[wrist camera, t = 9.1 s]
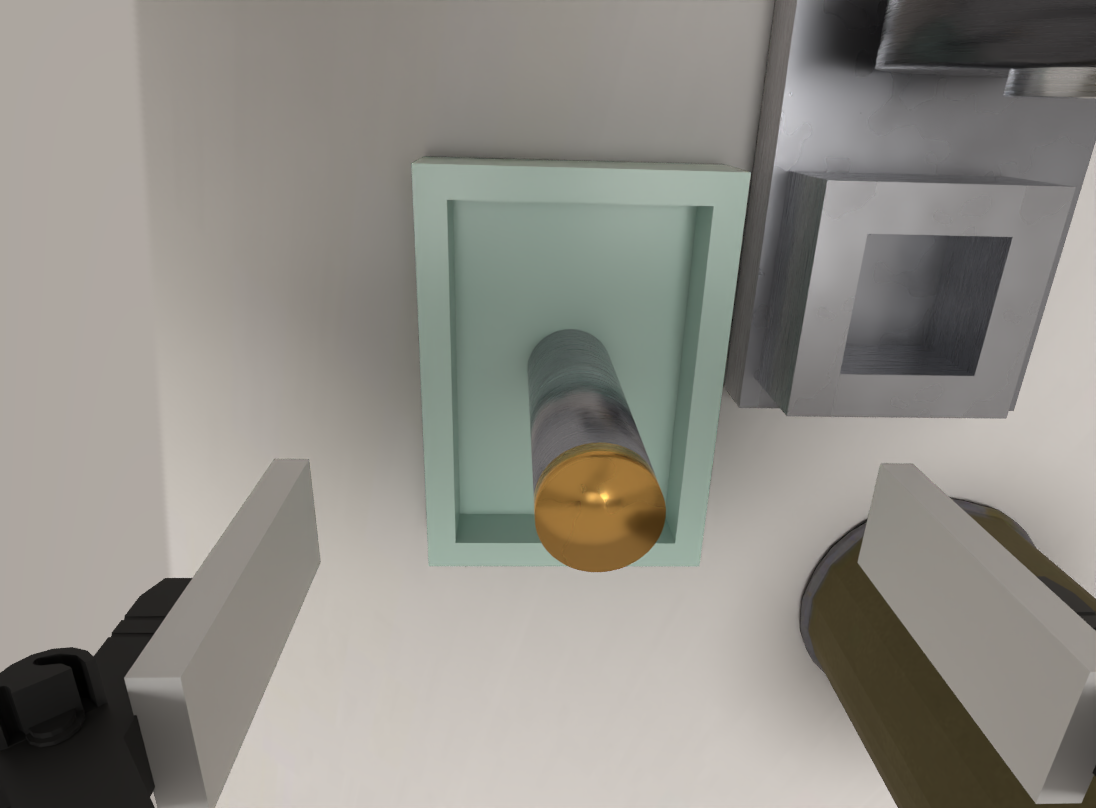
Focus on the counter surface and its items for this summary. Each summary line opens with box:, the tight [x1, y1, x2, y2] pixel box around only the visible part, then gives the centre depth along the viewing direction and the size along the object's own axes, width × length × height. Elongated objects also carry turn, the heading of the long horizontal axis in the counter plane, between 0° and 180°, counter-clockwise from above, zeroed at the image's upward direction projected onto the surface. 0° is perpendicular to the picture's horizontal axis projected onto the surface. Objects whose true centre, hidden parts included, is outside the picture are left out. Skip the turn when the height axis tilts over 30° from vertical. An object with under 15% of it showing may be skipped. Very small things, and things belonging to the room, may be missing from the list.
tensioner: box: [724, 0, 1096, 418], centre depth 19 cm, size 16×10×11 cm, turn 178°
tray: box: [411, 156, 751, 566], centre depth 25 cm, size 14×10×3 cm
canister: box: [800, 499, 1096, 808], centre depth 22 cm, size 11×10×20 cm
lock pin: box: [527, 329, 666, 572], centre depth 21 cm, size 3×3×10 cm
